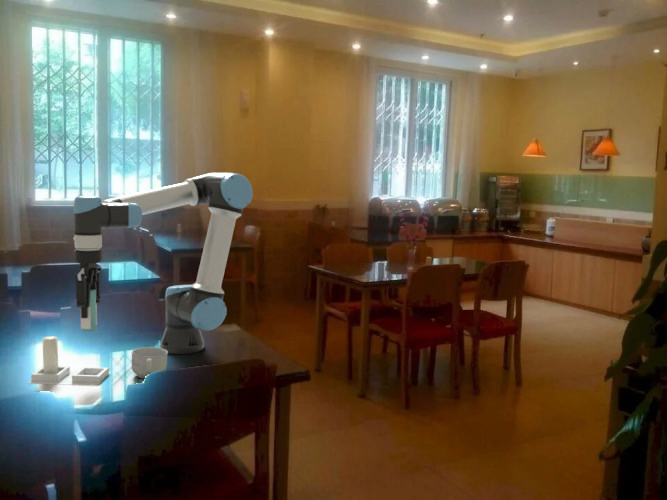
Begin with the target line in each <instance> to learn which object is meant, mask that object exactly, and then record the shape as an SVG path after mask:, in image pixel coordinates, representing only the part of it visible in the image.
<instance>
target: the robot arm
mask: <svg viewBox="0 0 667 500" xmlns="http://www.w3.org/2000/svg"><path fill="white" fill-rule="evenodd" d="M253 194H254V192H253V186H252V184H251V182H250V181H249V179H248V178H247V177H246V176H245V175H243V174H241V173H235V172H231V171H230V172H219V171H212V172H209V173H205V174H200V175H197V176H194V177H191V178H185V180H184V181H183V182H181V183H176V184H172V185H168V186H163V187H158V188H153V189H148V190H144V191H140V192H135V193H130V194H125V195H121V196H117V197H111V198H107V199H102V197H100V196H97V195H96V196H95V195H93V196H91V195H80V196H75V198H74V201H73V211H72V212H73V228H74V230H73V231H74V232H73V233H74V236H73V238H72V240H73V241H74V243H73V244H74V248H75V249H74V263H77V264H79V269H78V273H75V274H74V278H75V289H76V291H75V292H76V307H77V308H80V329H81V330H82V329H90V328H91V307H89V301H90V289H94V290H96V326H97V325H98V304H100V303H101V272H102V267H100V266H99V267H98V263H102V261H103V251H102V247H103V238H102V237H103V236H102V235H103V230H102V229H114V228H115V229H116V228H117V229H121V228H122V229H124V228H125V229H126V228H127V229H130V228H137V227H139V226H140V225H141V223H142V220H143V216H144V215H149V214H152V213H157V212H160V211H165V210H169V209H174V208H177V207H181V206H186V205H190V206H192V207H194V206H198V205H199V206H200V205H207V208H208V210H209V212H210V219H209V223H208V227H207V233H206V236H205V240H204V244H203V245H204V246H203V250H202V254H201V259H200V264H199V267H198V272H197V276H196V281H195V282H194V283H192V284H180V285H179V284H178V285H172V286H168V287H167V288H166V290H165V296H164V299H165V329H164V331H163V335H162V338H161V341H160V348H162V349H165V350H167V351H168V354H171V355H188V354H194V353H199V352H200V351H203V349H204V348H205V340H204V338H203V335H202V332H201V330H203V331H212V330H215V329H217V328H218V327H219V326H221V324H222V323H223V322H224V321H225V318H226V317H227V313H228V311H227V305H226V303H225V301H224V296H225V291H224V290H223V288H222V284H223V279H224V275H225V270H226V267H227V261H228V257H229V253H230V249H231V245H232V241H233V235H234V229H235V226H236V221H237V219H238V218H240V217H241V216H242V215H243V210H244V208H246V207H247V206H248V205H249V204H251V201H252V199H253Z"/></svg>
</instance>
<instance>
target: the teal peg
mask: <svg viewBox="0 0 667 500" xmlns="http://www.w3.org/2000/svg"><path fill="white" fill-rule="evenodd" d="M89 307H91V328H90V329H82V328H81V331H82V332H87V333H89V332H95V331H96V330H97V325H96V290H94V289H90V301H89Z"/></svg>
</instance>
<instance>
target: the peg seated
mask: <svg viewBox="0 0 667 500" xmlns="http://www.w3.org/2000/svg"><path fill="white" fill-rule="evenodd" d="M42 359H43V361H42V364H43V366H42V367H43V368H44V374H57V373H58V366H59V355H58V336H45V337H42Z"/></svg>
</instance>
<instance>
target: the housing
mask: <svg viewBox="0 0 667 500" xmlns="http://www.w3.org/2000/svg"><path fill="white" fill-rule="evenodd" d="M111 373H112V371H110V368H109V367H96V366H95V367H94V366H93V367H92V366H82V367H81V368H80V369H79V370H71V367H70V366H64V365H63V366H62V365H58V373H57V374H44V368H43V366H42V367H40V368H39V369H37V370H36V371H35V370H34V372H33V373H31V374H30V377H31V378H30V379H31V381H29V382H28V384H32V385H33V384H35V385H37V384H38V385H63V386H64V385H68V386H70V385H71V386H95V387H96V386H98V385H99V384H100V383H101V382H102V381H103V380H104V379H106V378H107V376H109V375H110V374H111Z"/></svg>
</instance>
